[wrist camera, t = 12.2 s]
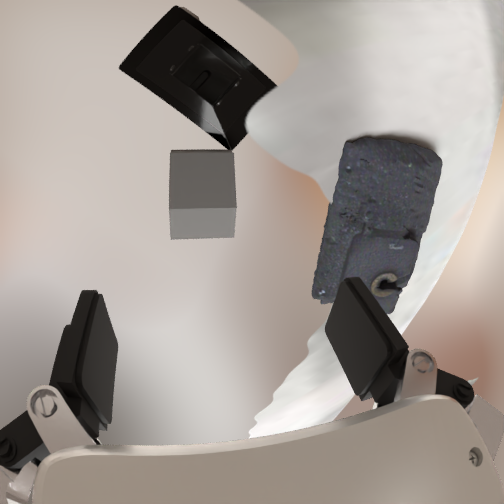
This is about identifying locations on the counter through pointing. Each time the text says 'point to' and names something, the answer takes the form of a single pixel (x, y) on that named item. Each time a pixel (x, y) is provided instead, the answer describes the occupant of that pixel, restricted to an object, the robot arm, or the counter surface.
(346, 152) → the dark grey rough slab
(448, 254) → the counter surface
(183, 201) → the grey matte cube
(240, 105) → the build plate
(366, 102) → the counter surface
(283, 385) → the counter surface
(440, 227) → the counter surface
